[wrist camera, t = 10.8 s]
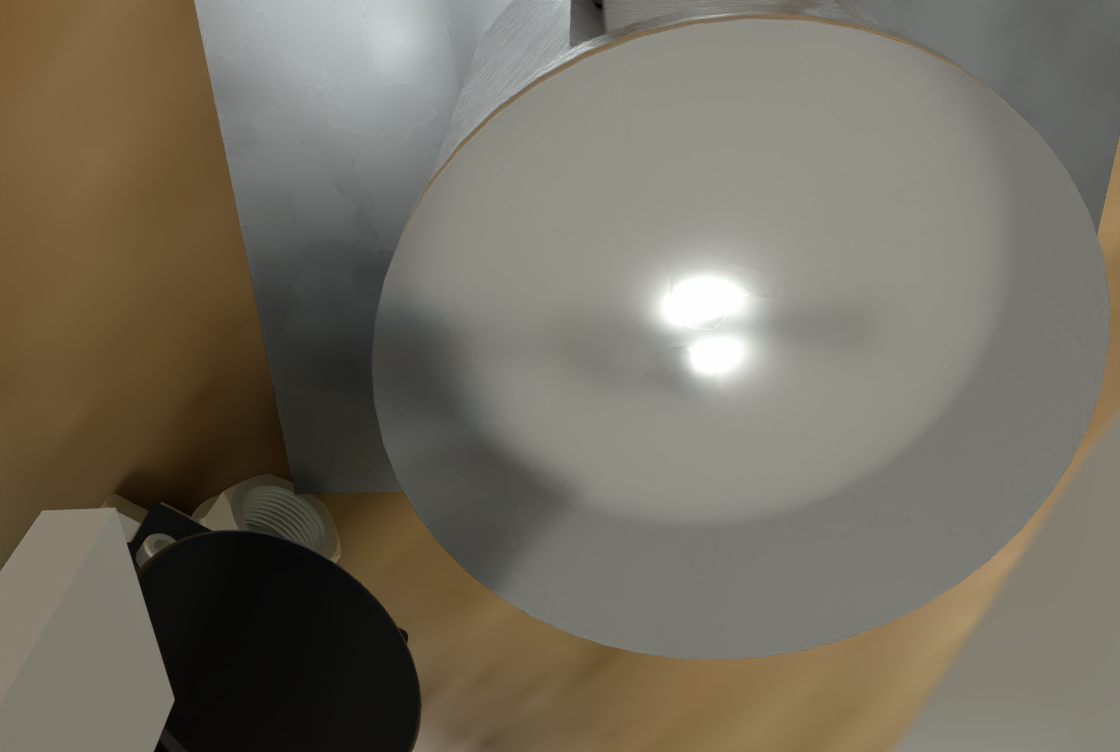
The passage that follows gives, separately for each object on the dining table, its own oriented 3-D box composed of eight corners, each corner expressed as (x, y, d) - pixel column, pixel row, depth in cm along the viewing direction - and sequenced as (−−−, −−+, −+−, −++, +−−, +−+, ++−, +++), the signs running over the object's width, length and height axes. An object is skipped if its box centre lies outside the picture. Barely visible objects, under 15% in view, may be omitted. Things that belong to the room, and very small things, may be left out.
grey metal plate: (306, 465, 33) (216, 699, 25) (136, -408, 22) (-125, -508, 14) (1023, 446, 32) (1176, 680, 24) (1216, -466, 21) (1616, -608, 13)
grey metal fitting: (853, 298, 28) (1035, 652, 17) (478, 310, 29) (414, 666, 17) (940, -527, 20) (1415, -904, 9) (405, -496, 20) (188, -820, 9)
